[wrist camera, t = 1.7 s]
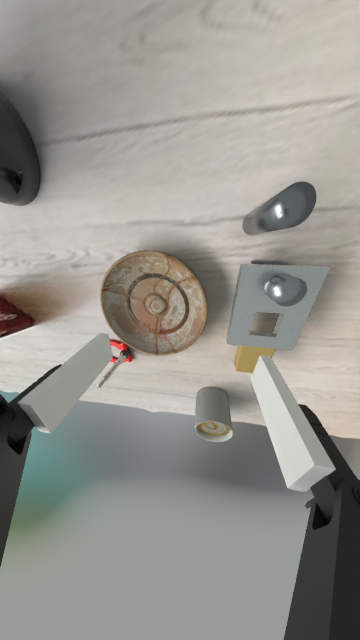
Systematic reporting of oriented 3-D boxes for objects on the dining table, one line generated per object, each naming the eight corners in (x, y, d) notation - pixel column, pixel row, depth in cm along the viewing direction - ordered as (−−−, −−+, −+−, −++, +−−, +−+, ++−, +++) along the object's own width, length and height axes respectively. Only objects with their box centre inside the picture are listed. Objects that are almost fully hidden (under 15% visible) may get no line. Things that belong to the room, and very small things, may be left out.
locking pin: (245, 211, 24) (280, 182, 13) (266, 210, 24) (323, 180, 12) (240, 234, 26) (269, 227, 14) (261, 234, 25) (307, 227, 14)
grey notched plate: (234, 260, 28) (248, 268, 19) (303, 262, 26) (352, 271, 18) (219, 350, 38) (224, 382, 29) (268, 355, 37) (288, 390, 28)
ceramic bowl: (229, 305, 32) (233, 315, 28) (163, 357, 42) (158, 370, 38) (150, 221, 27) (139, 217, 23) (95, 302, 37) (81, 310, 33)
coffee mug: (196, 385, 46) (195, 418, 37) (229, 388, 44) (235, 424, 35) (195, 410, 52) (193, 444, 43) (224, 414, 50) (228, 450, 42)
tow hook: (109, 360, 47) (134, 361, 45) (77, 397, 36) (108, 400, 34) (98, 339, 44) (125, 338, 41) (59, 372, 32) (93, 373, 30)
